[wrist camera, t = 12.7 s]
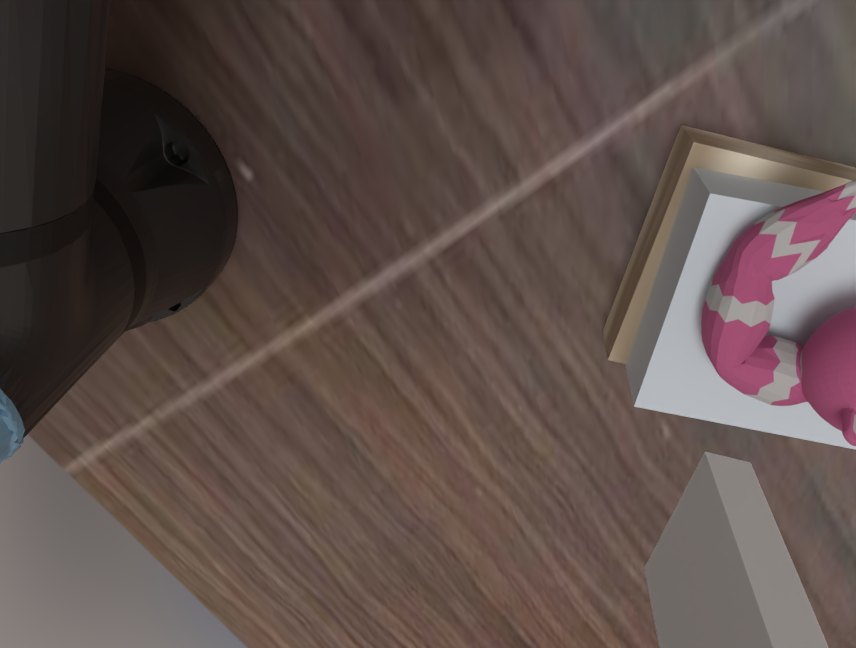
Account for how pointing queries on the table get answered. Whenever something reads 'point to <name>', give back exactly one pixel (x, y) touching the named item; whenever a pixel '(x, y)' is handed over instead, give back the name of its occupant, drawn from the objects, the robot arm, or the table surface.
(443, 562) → the table surface
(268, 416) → the table surface
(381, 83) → the table surface
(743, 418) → the upper block
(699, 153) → the lower slab
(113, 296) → the robot arm
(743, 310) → the toy
